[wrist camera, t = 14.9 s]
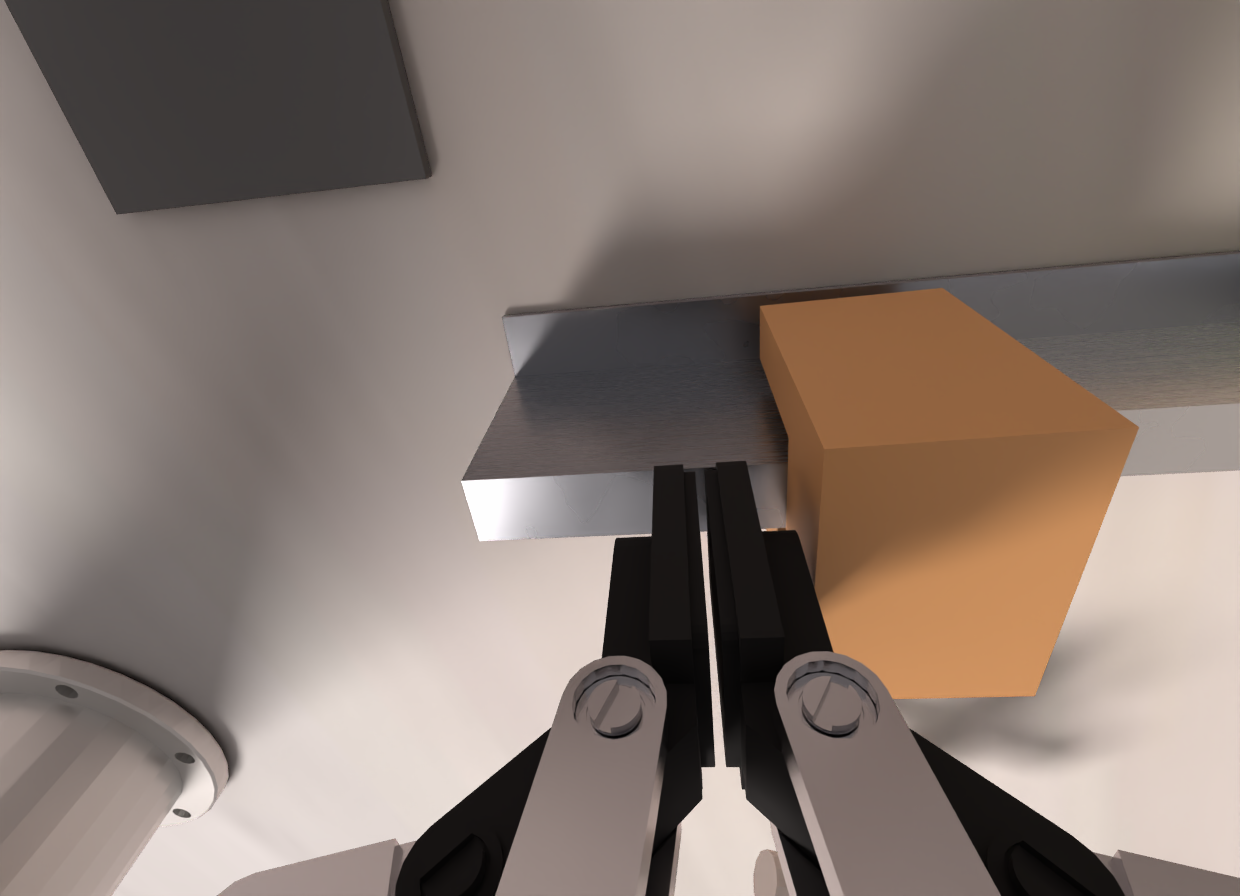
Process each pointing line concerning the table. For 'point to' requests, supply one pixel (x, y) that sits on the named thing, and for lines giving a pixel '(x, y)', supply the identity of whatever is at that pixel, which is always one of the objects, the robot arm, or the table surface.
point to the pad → (228, 95)
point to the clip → (937, 486)
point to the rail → (748, 414)
